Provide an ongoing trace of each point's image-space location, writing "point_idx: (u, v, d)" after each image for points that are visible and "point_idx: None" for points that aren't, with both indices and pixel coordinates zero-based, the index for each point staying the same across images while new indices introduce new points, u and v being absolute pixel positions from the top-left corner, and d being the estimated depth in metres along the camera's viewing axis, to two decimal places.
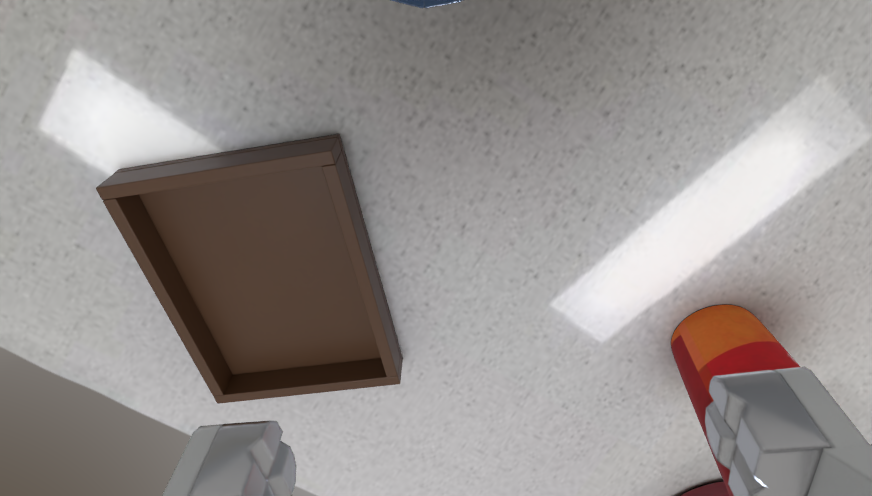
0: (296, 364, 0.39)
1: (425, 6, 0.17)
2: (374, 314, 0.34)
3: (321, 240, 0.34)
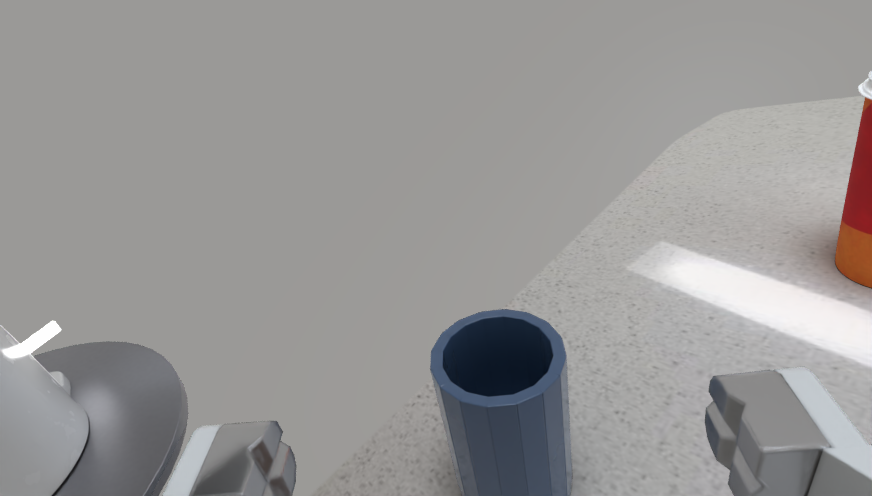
0: None
1: (565, 355, 0.25)
2: None
3: None
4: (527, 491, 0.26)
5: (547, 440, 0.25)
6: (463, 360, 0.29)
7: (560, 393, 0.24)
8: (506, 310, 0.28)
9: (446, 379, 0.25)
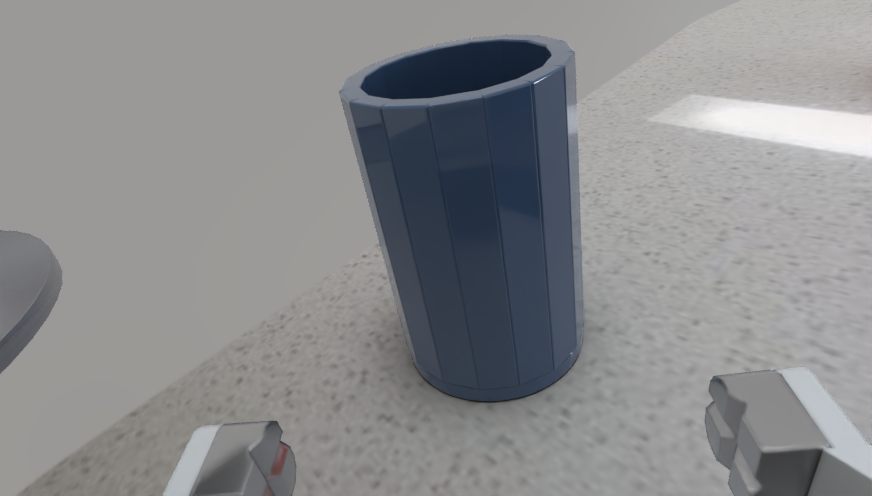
0: None
1: (572, 51, 0.14)
2: None
3: None
4: (509, 313, 0.15)
5: (543, 205, 0.14)
6: None
7: (565, 111, 0.14)
8: None
9: (362, 94, 0.14)
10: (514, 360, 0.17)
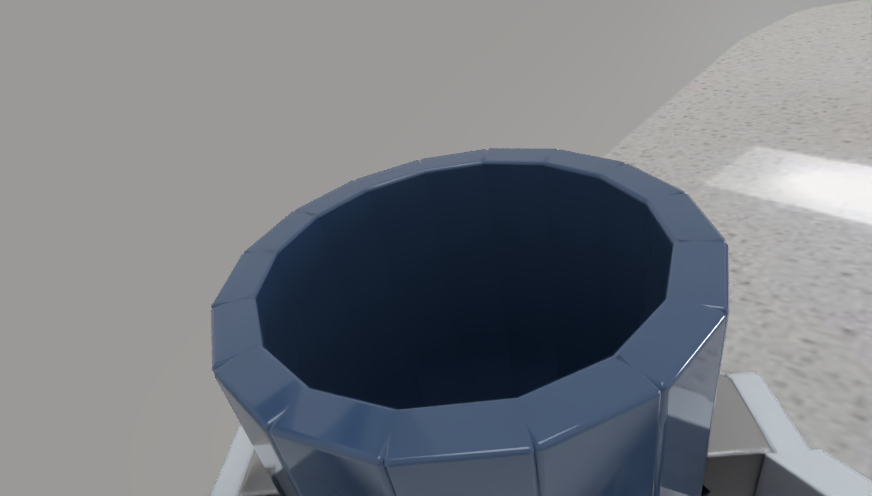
0: None
1: (720, 239, 0.06)
2: None
3: None
4: None
5: None
6: (373, 302, 0.10)
7: (714, 392, 0.06)
8: (493, 150, 0.10)
9: (248, 339, 0.06)
10: None
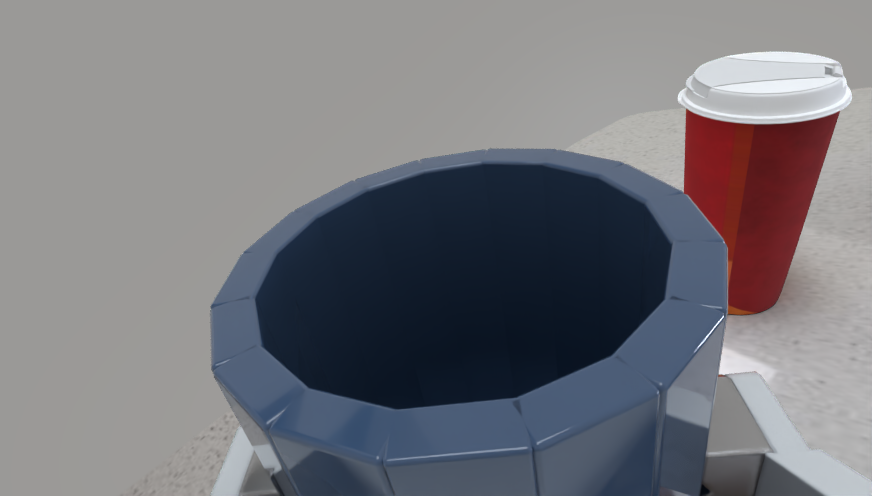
0: None
1: (720, 240, 0.06)
2: None
3: None
4: None
5: None
6: (373, 302, 0.10)
7: (713, 392, 0.06)
8: (493, 150, 0.10)
9: (247, 339, 0.06)
10: None
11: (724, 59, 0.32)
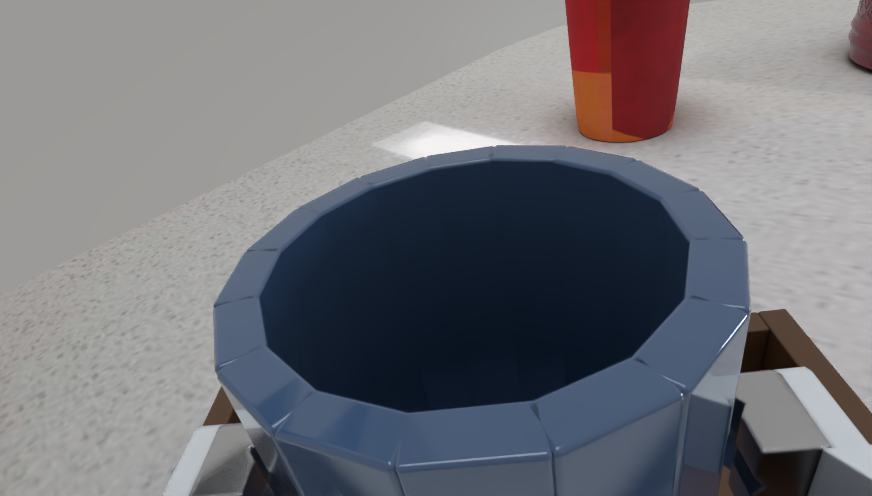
0: None
1: (739, 237, 0.06)
2: None
3: None
4: None
5: None
6: (378, 301, 0.10)
7: (734, 395, 0.06)
8: (501, 147, 0.09)
9: (252, 339, 0.06)
10: None
11: None
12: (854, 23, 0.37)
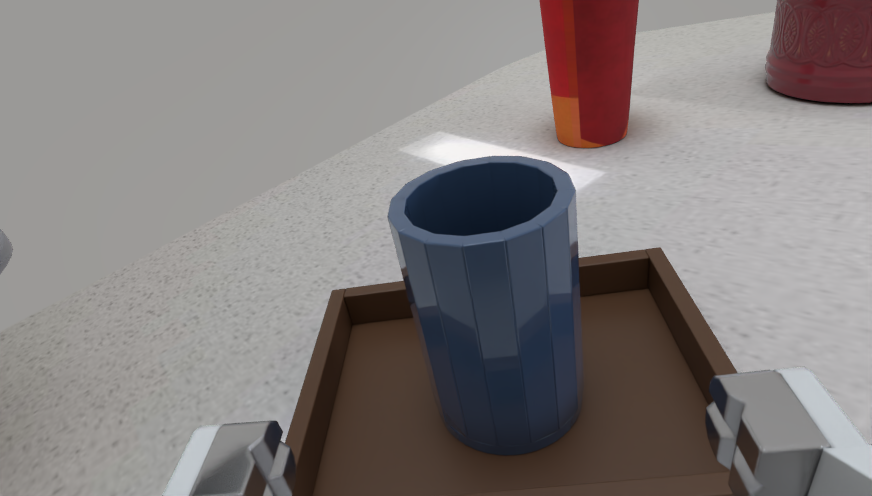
0: (692, 390, 0.22)
1: (573, 189, 0.18)
2: None
3: None
4: (523, 389, 0.19)
5: (550, 309, 0.18)
6: (438, 227, 0.21)
7: (567, 239, 0.17)
8: (494, 156, 0.21)
9: (408, 223, 0.18)
10: (526, 424, 0.20)
11: None
12: (767, 56, 0.49)
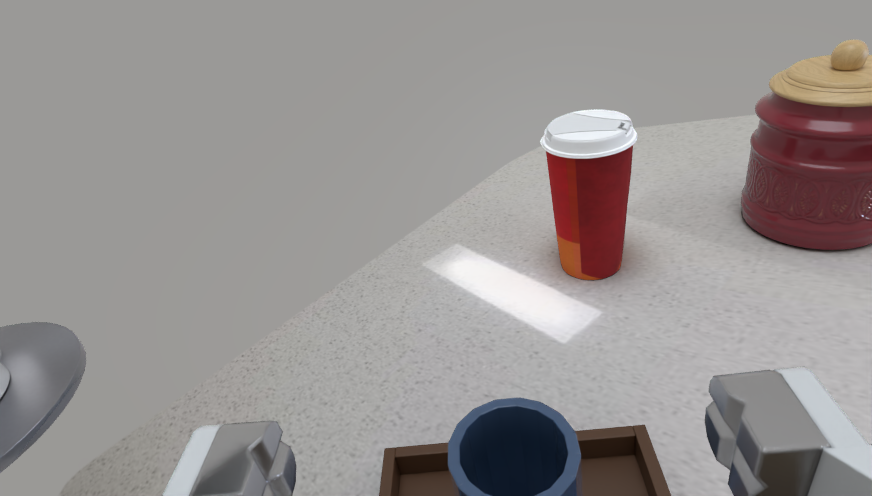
0: None
1: (579, 453, 0.25)
2: None
3: None
4: None
5: None
6: (478, 447, 0.29)
7: (575, 492, 0.25)
8: (520, 399, 0.29)
9: (464, 478, 0.25)
10: None
11: (571, 114, 0.50)
12: (742, 193, 0.57)
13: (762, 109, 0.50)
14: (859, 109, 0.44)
